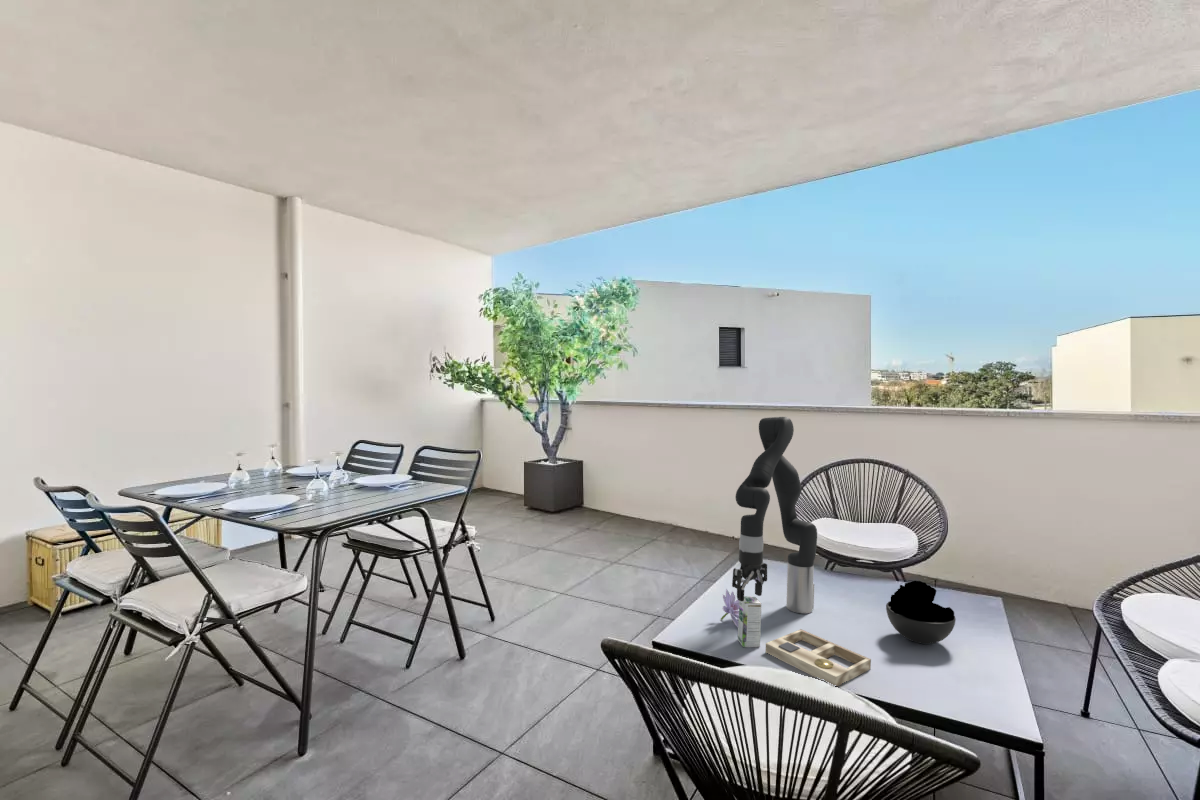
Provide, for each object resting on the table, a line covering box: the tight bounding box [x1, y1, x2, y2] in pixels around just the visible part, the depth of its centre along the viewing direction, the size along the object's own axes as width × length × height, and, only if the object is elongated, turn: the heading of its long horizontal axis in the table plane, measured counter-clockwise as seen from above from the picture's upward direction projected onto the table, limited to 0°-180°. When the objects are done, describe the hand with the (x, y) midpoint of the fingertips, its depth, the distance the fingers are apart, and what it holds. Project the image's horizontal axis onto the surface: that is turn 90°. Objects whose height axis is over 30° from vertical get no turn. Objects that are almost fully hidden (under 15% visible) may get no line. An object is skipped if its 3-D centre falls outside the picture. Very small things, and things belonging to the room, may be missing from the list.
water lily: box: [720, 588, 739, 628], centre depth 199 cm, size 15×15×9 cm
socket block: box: [765, 628, 872, 687], centre depth 172 cm, size 18×24×3 cm
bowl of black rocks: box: [885, 580, 957, 645], centre depth 186 cm, size 20×20×19 cm
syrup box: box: [737, 595, 762, 648], centre depth 182 cm, size 6×6×14 cm
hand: (749, 597), depth 182 cm, fingers open, 8 cm apart
